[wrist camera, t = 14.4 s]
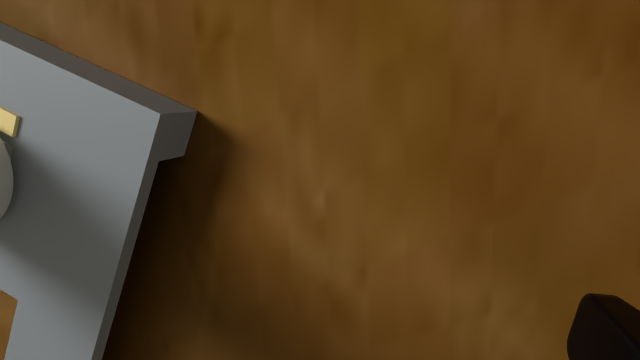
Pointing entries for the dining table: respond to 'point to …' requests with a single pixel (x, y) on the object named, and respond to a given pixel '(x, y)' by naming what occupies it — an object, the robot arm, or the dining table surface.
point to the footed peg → (5, 176)
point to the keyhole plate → (74, 191)
